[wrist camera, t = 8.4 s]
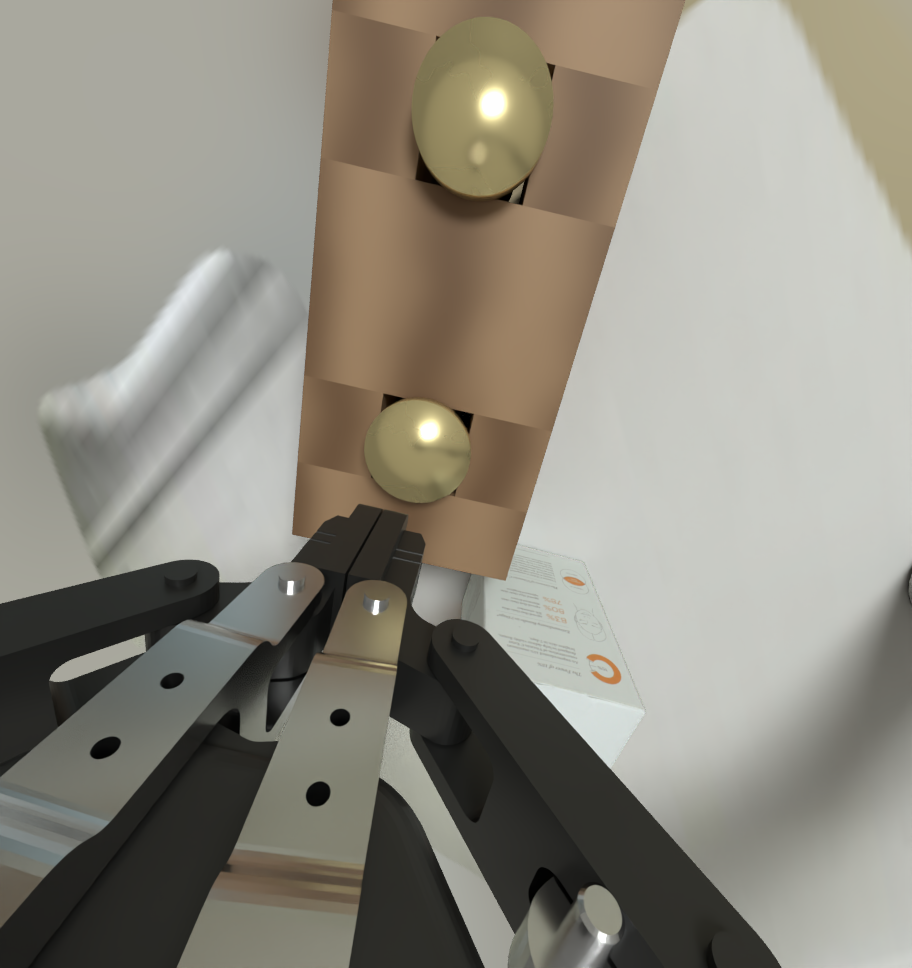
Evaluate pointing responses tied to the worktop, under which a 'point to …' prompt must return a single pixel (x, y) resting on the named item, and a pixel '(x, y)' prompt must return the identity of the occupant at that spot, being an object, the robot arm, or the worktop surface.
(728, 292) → the worktop surface
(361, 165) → the socket block
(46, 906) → the robot arm
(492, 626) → the small box
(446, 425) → the plunger
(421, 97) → the plunger
